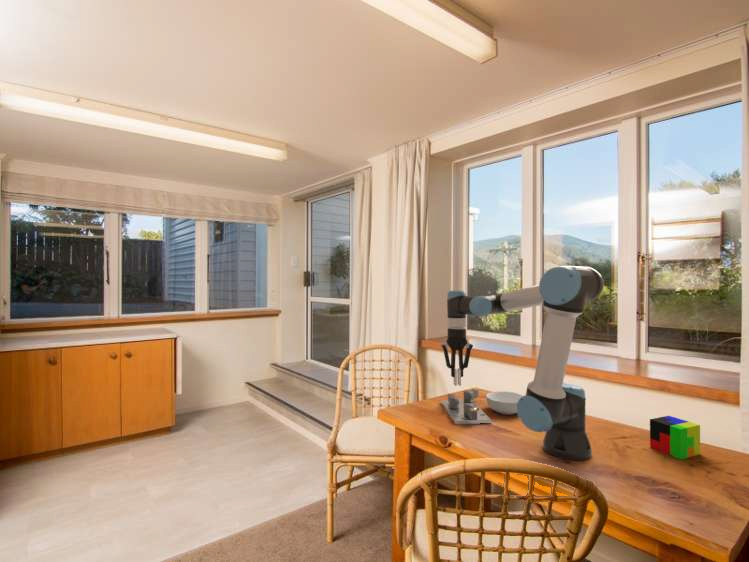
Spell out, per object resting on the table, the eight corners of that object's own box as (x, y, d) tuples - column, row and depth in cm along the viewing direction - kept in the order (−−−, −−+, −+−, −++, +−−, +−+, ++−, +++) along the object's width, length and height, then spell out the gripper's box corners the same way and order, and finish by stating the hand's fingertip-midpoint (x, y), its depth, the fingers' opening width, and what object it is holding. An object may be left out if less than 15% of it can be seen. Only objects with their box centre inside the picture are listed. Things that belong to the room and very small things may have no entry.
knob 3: (462, 413, 170) (462, 403, 170) (472, 412, 170) (472, 402, 170) (468, 421, 160) (468, 410, 160) (479, 420, 160) (479, 410, 160)
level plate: (491, 423, 162) (490, 418, 162) (455, 424, 161) (455, 419, 161) (471, 402, 190) (471, 398, 190) (441, 403, 189) (441, 398, 189)
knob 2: (470, 403, 184) (470, 393, 184) (461, 401, 187) (461, 391, 187) (480, 398, 191) (480, 389, 191) (472, 396, 194) (471, 387, 194)
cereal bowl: (478, 409, 180) (478, 393, 180) (506, 404, 187) (506, 389, 187) (505, 420, 165) (505, 404, 165) (534, 414, 172) (533, 398, 172)
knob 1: (460, 408, 175) (460, 399, 175) (450, 409, 175) (450, 399, 175) (455, 402, 185) (454, 392, 185) (445, 402, 185) (445, 393, 185)
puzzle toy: (668, 443, 141) (668, 415, 141) (700, 454, 132) (699, 424, 132) (650, 447, 138) (649, 419, 138) (681, 459, 128) (680, 429, 128)
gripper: (470, 326, 165) (471, 382, 165) (438, 327, 165) (438, 382, 165) (476, 328, 158) (476, 386, 158) (441, 329, 157) (442, 387, 157)
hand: (457, 384), depth 161 cm, fingers closed
